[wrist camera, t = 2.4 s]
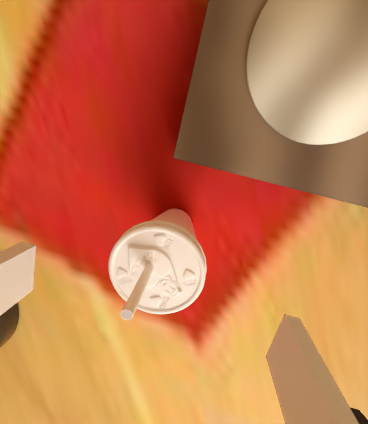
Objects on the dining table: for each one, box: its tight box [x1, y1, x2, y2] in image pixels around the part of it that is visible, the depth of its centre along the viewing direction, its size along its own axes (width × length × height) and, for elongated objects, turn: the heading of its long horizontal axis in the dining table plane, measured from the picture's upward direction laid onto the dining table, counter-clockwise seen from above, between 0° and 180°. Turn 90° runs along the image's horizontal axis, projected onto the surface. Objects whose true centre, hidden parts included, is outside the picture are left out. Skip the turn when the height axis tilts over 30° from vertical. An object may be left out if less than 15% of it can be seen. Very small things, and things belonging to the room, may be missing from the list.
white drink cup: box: [109, 209, 207, 320], centre depth 17 cm, size 6×6×14 cm
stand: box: [173, 0, 368, 208], centre depth 16 cm, size 16×16×6 cm
